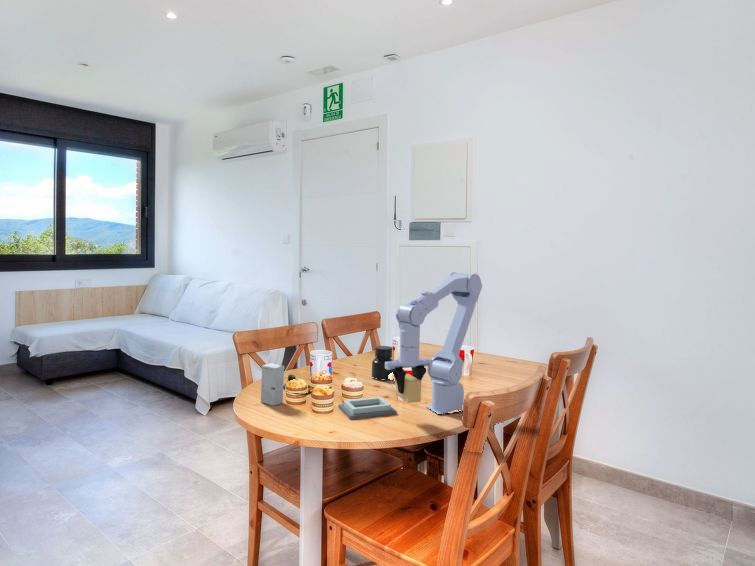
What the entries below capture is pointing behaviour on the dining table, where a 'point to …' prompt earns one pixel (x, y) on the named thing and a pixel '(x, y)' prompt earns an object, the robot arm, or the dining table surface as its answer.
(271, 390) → the skincare box
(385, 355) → the ink bottle
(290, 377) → the seal
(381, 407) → the board
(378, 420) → the dining table surface
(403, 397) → the ochre block
